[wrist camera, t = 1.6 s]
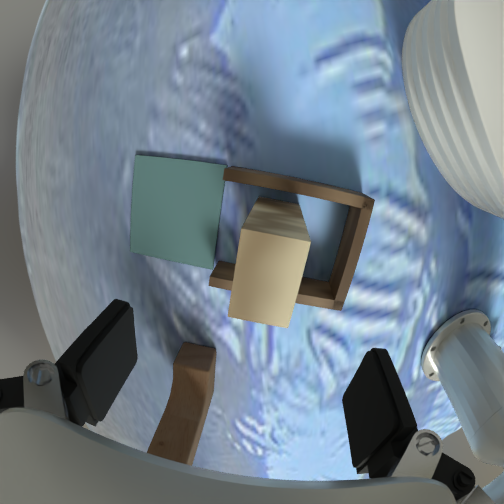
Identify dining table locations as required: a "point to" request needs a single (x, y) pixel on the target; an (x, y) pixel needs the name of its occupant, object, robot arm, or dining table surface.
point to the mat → (176, 209)
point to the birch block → (269, 263)
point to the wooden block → (186, 404)
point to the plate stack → (460, 94)
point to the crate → (350, 244)
